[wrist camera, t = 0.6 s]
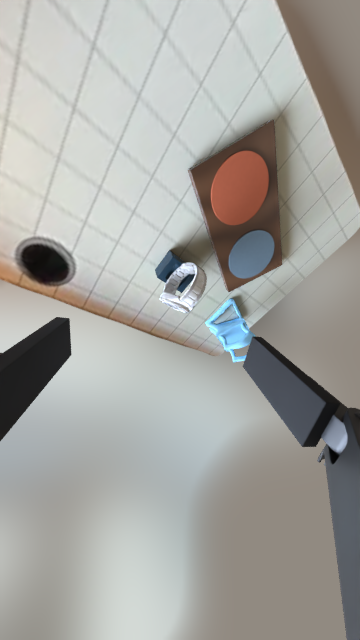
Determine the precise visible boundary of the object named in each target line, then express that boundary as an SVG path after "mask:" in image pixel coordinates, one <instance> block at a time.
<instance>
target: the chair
mask: <svg viewBox="0 0 360 640" xmlns="http://www.w3.org/2000/svg"><path fill="white" fill-rule="evenodd" d="M231 304H233V306H234V308H235V310H236V312H237V314H238V316H239V318H237V319H234V320H231V321H227V322H224V323H220V324H215V323H213V322H215V321H216V319H217V318H218V317H219V316H220V315H221V314H222V313H223V312H224V311H225V310H226V309H227V308H228V307H229V306H230V305H231ZM205 324H206V325H207V326H209V327H210V330H211V332H213V333H214V334H215V335H216V336H217V338H218V339H219V341H220V342H221V343H222V345H223V346H224V350H225V351H226V350H227V352H228V351H230V353H231V355H232V357H233V362H237V361H245V358H246V355H245V356H240V357H235V353H234V350H233V349H238V348H243V347H245V346H247V345H249V344H250V343H251V340H252V336H254V337H256V336H255V335H254V334H253V333H252V332H251V331H250V330H249V328H248V326H247V324H246V322H245V320H244V319H243V317H242V315H241V313H240V311H239V309H238V307H237V305H236V303H235V301H234V300H233V299H232V298H231V299H229V300H228V301H227V302H226V303H225V304H224V305H223V306H222V307H221V308H220V309H219V310H218V311H217V312H216V313H215V314H214V315H213V316H212V317H211V318H210V319H209V320H207V321H206V322H205Z"/></svg>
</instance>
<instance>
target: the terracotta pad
mask: <svg viewBox="0 0 360 640" xmlns="http://www.w3.org/2000/svg"><path fill="white" fill-rule="evenodd" d="M268 184H269V175H268V169H267V166H266V163H265V162H264V160H263V158H262V157H261V156H260V155H258V154H257V153H255V152H253V151H240V152H237V153H235V154H233V155H232V156H230V157H229V158H228V159H227V160H225V162H224V163H223V164H222V165H221V167H220V168H219V170H218V171H217V173H216V175H215V178H214V181H213V184H212V189H211V203H212V208H213V211H214V213H215V215H216V216H217V217H218V219H219V220H221V221H222V222H224V223H225V224H228V225H239V224H242V223H244V222H246V221H248V220H249V219H250V218H252V217H253V216H254V215H255V214H256V213H257V211H258V210H259V209H260V207H261V205H262V204H263V202H264V199H265V197H266V194H267V190H268Z"/></svg>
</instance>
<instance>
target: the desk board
mask: <svg viewBox="0 0 360 640" xmlns="http://www.w3.org/2000/svg"><path fill="white" fill-rule="evenodd" d="M240 151H253V152H255V153H257V154H258V155H260V156H261V157H262V158H263V160H264V162H265V163H266V166H267V169H268V175H269V184H268V190H267V194H266V197H265V199H264V202H263V204H262V205H261V207H260V209H259V210H258V211H257V213H256V214H255V215H254V216H253V217H252V218H250V219H249V220H248V221H246V222H244V223H242V224H239V225H228V224H225V223H224V222H222V221H221V220H219V219H218V217H217V216H216V215H215V213H214V211H213V208H212V203H211V189H212V184H213V181H214V178H215V175H216V173H217V171H218V170H219V168H220V167H221V165H222V164H223V163H224V162H225V160H227V159H228V158H229V157H230V156H232V155H233V154H235V153H237V152H240ZM188 172H189V175H190V178H191V181H192V184H193V187H194V191H195V194H196V197H197V200H198V203H199V206H200V209H201V212H202V215H203V218H204V222H205V225H206V228H207V231H208V234H209V237H210V240H211V243H212V246H213V249H214V253H215V256H216V259H217V262H218V265H219V268H220V271H221V274H222V277H223V280H224V283H225V287H226V290H227V291H228V292H230V291H232V290H234V289H236V288H238V287H240V286H242V285H244V284H246V283H248V282H250V281H252V280H254V279H256V278H257V277H259V276H261V275H263V274H265V273H267V272H269V271H271V270H273V269H275V268H277V267H279V266H281V265H282V253H281V235H280V217H279V200H278V182H277V164H276V146H275V128H274V120H270V121H268V122H266V123H265V124H263V125H261V126H260V127H258V128H256V129H255V130H253V131H251V132H250V133H248V134H247V135H245V136H243V137H242V138H240V139H238V140H237V141H235V142H233V143H232V144H230V145H228V146H227V147H225V148H223V149H222V150H220V151H218V152H217V153H215V154H214V155H212V156H210V157H209V158H207V159H205V160H204V161H202V162H200V163H199V164H197V165H195V166H194V167H192V168H190V169H189V170H188ZM253 230H263V231H266V232H268V233H269V234H270V235H271V236H272V238H273V241H274V253H273V256H272V258H271V260H270V262H269V264H268V265H267V266H266V267H265V268H264V270H262V271H261V272H260V273H259V274H257V275H255V276H253V277H250V278H245V279H244V278H238V277H236V276H235V275H234V274H233V273H232V272H231V271H230V268H229V255H230V252H231V250H232V248H233V246H234V245H235V243H236V242H237V241H238V240H239V239H240V238H241V237H242V236H243V235H245V234H246V233H248V232H250V231H253Z"/></svg>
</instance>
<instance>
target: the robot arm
mask: <svg viewBox="0 0 360 640" xmlns="http://www.w3.org/2000/svg"><path fill="white" fill-rule="evenodd" d="M70 356H71V342H70V321H69V318H60V317H56V318H55V319H53V320H52V321H50V322H49V323H47V324H46V325H44V326H43V327H41V328H40V329H38V330H37V331H35V332H34V333H32V334H31V335H29V336H28V337H26V338H25V339H23V340H22V341H20V342H19V343H17V344H16V345H14V346H13V347H11V348H10V349H8V350H7V351H5V352H4V353H0V441H1V440H2V439H3V437H4V436H5V435H6V434H7V432H8V431H9V430H10V428H12V426H13V425H14V424H15V423H16V422H17V420H18V419H19V418H20V417H21V415H22V414H23V413H24V412H25V411H26V409H27V408H28V407H29V406H30V404H31V403H32V402H33V401H34V400H35V398H36V397H37V396H38V395H39V393H40V392H41V391H42V390H43V389H44V387H45V386H46V385H47V384H48V382H49V381H50V380H51V379H52V378H53V376H54V375H55V374H56V373H57V371H58V370H59V369H60V368H61V367H62V365H63V364H64V363H65V362H66V361H67V359H68V358H69V357H70ZM243 367H244V369H245V370H246V371H247V373H248V374H249V375H250V377H251V378H252V379H253V381H254V382H255V383H256V385H257V386H258V388H259V389H260V390H261V392H262V393H263V394H264V396H265V397H266V398H267V400H268V401H269V402H270V403H271V405H272V407H273V408H274V409H275V411H276V412H277V413H278V415H279V416H280V417H281V419H282V420H283V421H284V423H285V424H286V425H287V427H288V428H289V430H290V431H291V432H292V434H293V435H294V436H295V438H296V439H297V440H298V442H299V443H300V444H301V446H302V447H316V445H317V444H318V442H319V440H320V438H322V439H323V440H324V441H325V442H326V443H327V444H326V446H325V447H324V449H323V451H322V453H321V454H320V456H319V457H318V460H317V461H318V462H321V460H322V459H325V464H324V465H325V466H326V472H327V480H328V489H329V497H330V505H331V513H332V521H333V530H334V538H335V546H336V554H337V563H338V571H339V579H340V587H341V595H342V604H343V612H344V620H345V628H346V637H347V640H360V410H359V409H356V408H347V407H346V406H344V405H343V404H342V403H341V402H340V401H339V400H337V399H336V398H335V397H334V396H332V395H331V394H330V393H329V392H328V391H326V390H324V388H323V387H321V386H320V385H318V383H317V382H316V381H314V380H313V379H312V378H311V377H309V376H307V375H306V374H305V373H304V372H303V371H301V370H300V369H299V368H298V367H297V366H295V365H294V364H293V363H292V362H291V361H289V360H288V359H287V358H286V357H285V356H283V355H282V354H281V353H280V352H279V351H277V350H276V349H275V348H274V347H272V346H271V345H270V344H269V343H268V342H266V341H265V340H264V339H263V338H261V337H254V336H252V340H251V343H250V346H249V349H248V352H247V355H246V358H245V362H244V365H243Z"/></svg>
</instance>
